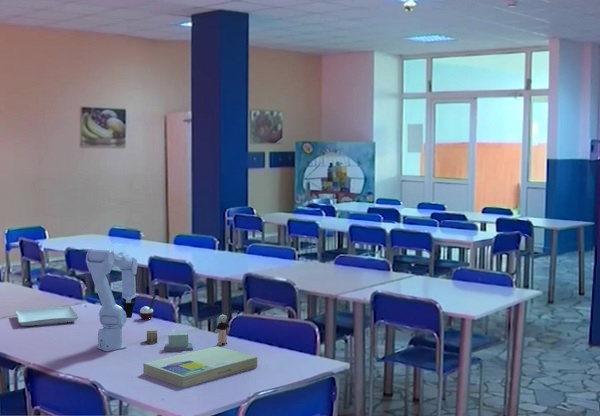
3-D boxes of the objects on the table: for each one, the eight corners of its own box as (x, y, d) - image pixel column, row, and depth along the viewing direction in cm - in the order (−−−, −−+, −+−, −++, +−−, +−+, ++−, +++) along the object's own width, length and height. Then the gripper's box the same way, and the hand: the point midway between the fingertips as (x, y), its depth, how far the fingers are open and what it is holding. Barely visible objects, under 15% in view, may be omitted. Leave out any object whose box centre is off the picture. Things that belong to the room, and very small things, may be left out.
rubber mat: (191, 345, 315) (191, 342, 315) (192, 349, 307) (192, 347, 307) (165, 346, 313) (165, 343, 313) (165, 351, 305) (165, 348, 305)
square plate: (14, 317, 368) (14, 309, 368) (71, 313, 380) (71, 305, 379) (18, 329, 344) (18, 321, 343) (79, 323, 355) (79, 315, 355)
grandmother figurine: (220, 346, 313) (220, 316, 312) (213, 344, 315) (213, 315, 315) (232, 342, 319) (232, 313, 318) (225, 341, 322) (225, 312, 321)
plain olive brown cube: (157, 343, 318) (157, 333, 318) (146, 343, 318) (146, 333, 317) (157, 340, 323) (157, 330, 323) (146, 340, 322) (146, 330, 322)
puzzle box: (258, 368, 283) (217, 356, 299) (258, 356, 282) (217, 345, 299) (181, 390, 257) (141, 375, 273) (181, 376, 256) (141, 362, 273)
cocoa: (136, 319, 365) (135, 295, 364) (147, 317, 370) (146, 293, 369) (147, 321, 358) (145, 297, 358) (158, 319, 363) (156, 295, 362)
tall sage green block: (187, 344, 312) (187, 332, 312) (188, 346, 309) (188, 334, 308) (168, 344, 311) (168, 333, 311) (168, 347, 307) (168, 335, 307)
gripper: (137, 287, 316) (138, 319, 317) (138, 281, 330) (139, 311, 331) (120, 288, 315) (121, 319, 316) (122, 282, 329) (122, 312, 330)
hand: (129, 315), depth 323 cm, fingers open, 7 cm apart
